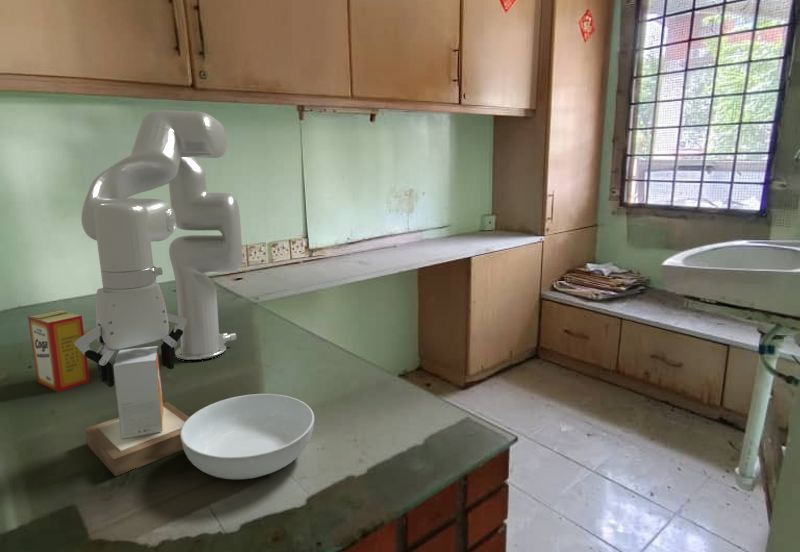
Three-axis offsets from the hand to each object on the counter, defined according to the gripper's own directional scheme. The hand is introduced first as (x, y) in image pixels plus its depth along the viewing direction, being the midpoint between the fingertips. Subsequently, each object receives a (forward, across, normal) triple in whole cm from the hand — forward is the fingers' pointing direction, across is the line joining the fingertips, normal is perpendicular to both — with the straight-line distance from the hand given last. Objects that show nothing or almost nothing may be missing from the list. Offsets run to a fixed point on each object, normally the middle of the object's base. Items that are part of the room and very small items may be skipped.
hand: (139, 375), depth 82 cm
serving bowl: (+12, -9, +19) cm, 24 cm away
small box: (+9, 0, 0) cm, 9 cm away
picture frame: (+12, +1, +1) cm, 12 cm away
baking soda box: (+14, +3, -40) cm, 42 cm away
